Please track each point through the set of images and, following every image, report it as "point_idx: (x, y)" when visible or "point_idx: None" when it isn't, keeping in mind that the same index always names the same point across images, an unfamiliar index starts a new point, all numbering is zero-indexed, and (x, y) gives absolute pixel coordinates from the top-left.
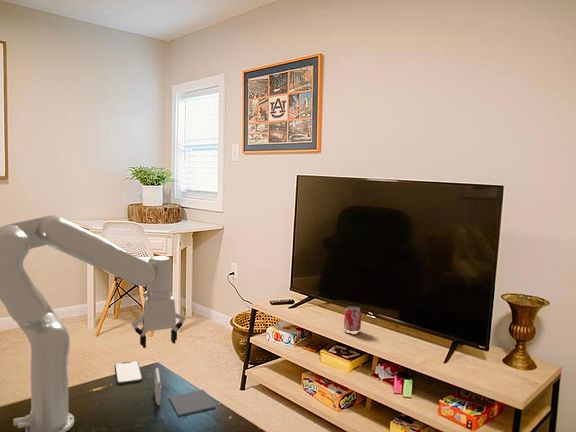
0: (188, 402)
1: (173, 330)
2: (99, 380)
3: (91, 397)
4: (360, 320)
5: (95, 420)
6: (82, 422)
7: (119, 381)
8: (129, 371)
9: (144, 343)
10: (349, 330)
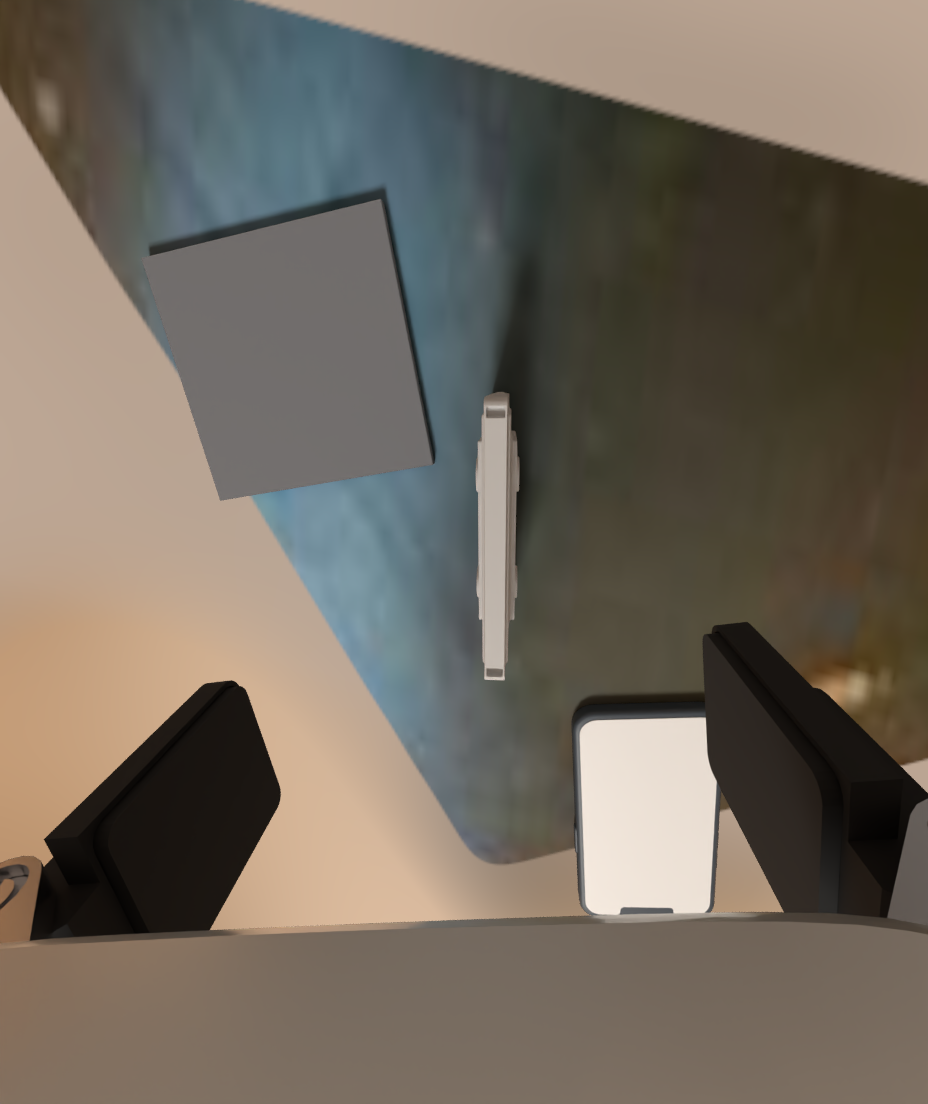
0: (313, 356)
1: (79, 916)
2: None
3: (892, 599)
4: None
5: (923, 290)
6: None
7: None
8: (640, 817)
9: (773, 665)
10: None
